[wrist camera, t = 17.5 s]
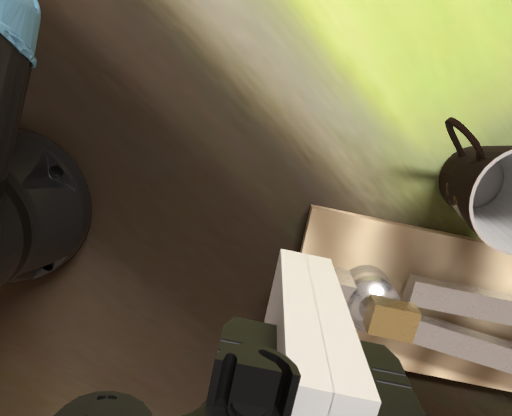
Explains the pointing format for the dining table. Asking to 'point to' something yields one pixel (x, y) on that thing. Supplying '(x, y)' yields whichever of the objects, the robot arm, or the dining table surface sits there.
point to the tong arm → (464, 343)
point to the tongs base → (422, 295)
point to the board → (423, 264)
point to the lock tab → (391, 318)
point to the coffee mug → (480, 188)
